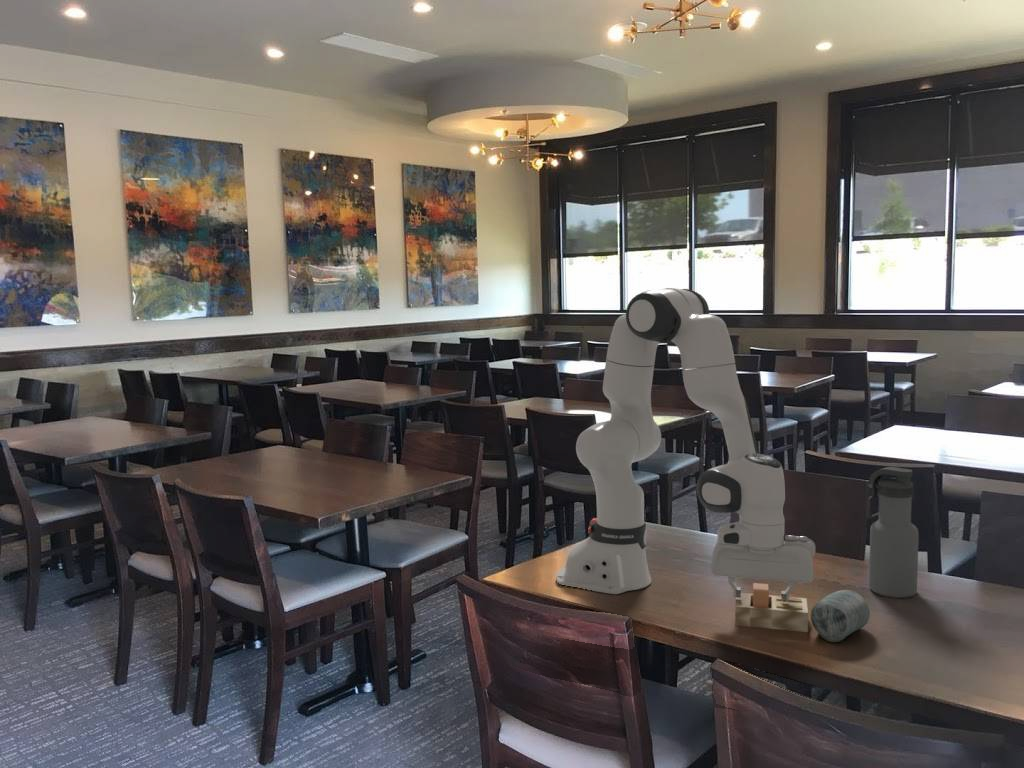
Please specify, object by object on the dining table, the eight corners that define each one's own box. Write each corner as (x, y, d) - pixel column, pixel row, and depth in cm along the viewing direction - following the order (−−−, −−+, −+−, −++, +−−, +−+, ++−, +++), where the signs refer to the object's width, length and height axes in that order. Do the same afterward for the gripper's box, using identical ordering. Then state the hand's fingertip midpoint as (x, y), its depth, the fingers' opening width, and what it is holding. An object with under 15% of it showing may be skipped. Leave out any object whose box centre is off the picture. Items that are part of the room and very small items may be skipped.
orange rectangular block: (752, 624, 165) (753, 591, 165) (753, 615, 170) (753, 583, 169) (768, 625, 164) (768, 592, 164) (767, 616, 169) (768, 584, 168)
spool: (848, 638, 150) (834, 584, 154) (805, 646, 157) (793, 594, 161) (888, 637, 158) (874, 585, 162) (846, 644, 165) (833, 595, 169)
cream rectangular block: (735, 625, 165) (735, 605, 165) (736, 610, 173) (736, 591, 172) (807, 632, 161) (808, 611, 160) (806, 616, 168) (806, 596, 168)
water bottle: (859, 590, 182) (861, 468, 179) (879, 579, 189) (882, 462, 186) (904, 602, 175) (908, 476, 172) (924, 591, 181) (928, 468, 178)
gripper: (814, 532, 165) (813, 597, 167) (712, 526, 171) (712, 589, 173) (816, 541, 159) (815, 609, 161) (710, 534, 165) (710, 599, 167)
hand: (760, 598), depth 167 cm, fingers open, 8 cm apart
